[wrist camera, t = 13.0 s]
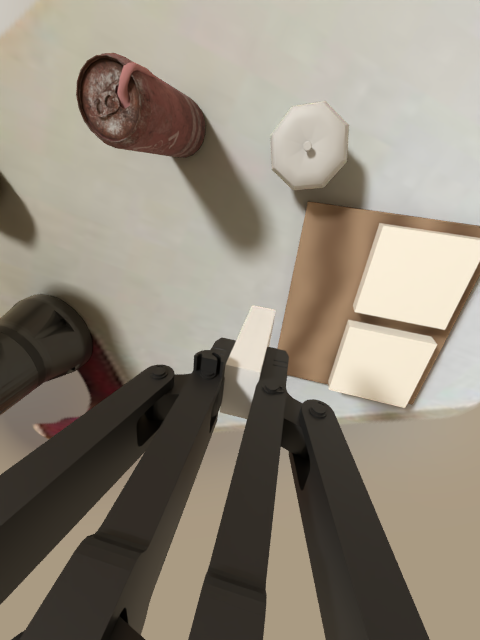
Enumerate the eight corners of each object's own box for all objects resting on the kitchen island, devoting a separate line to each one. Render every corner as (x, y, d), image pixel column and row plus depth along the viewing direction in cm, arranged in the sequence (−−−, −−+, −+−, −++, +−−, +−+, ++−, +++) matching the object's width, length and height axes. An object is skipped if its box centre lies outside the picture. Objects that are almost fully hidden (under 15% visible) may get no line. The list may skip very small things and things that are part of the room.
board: (274, 365, 45) (272, 371, 44) (308, 201, 34) (307, 202, 33) (409, 397, 42) (412, 404, 41) (494, 228, 31) (502, 230, 30)
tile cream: (354, 312, 35) (444, 329, 33) (383, 225, 30) (489, 241, 28) (352, 304, 37) (437, 320, 35) (378, 222, 32) (477, 237, 31)
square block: (328, 389, 40) (405, 408, 39) (349, 326, 36) (437, 344, 34) (328, 378, 42) (400, 395, 41) (347, 317, 38) (430, 334, 36)
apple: (361, 122, 30) (371, 109, 24) (328, 200, 34) (330, 204, 28) (288, 98, 31) (281, 79, 25) (263, 177, 34) (253, 177, 29)
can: (218, 119, 33) (159, 84, 21) (188, 169, 36) (122, 164, 24) (176, 80, 32) (90, 20, 20) (150, 134, 35) (60, 110, 23)
